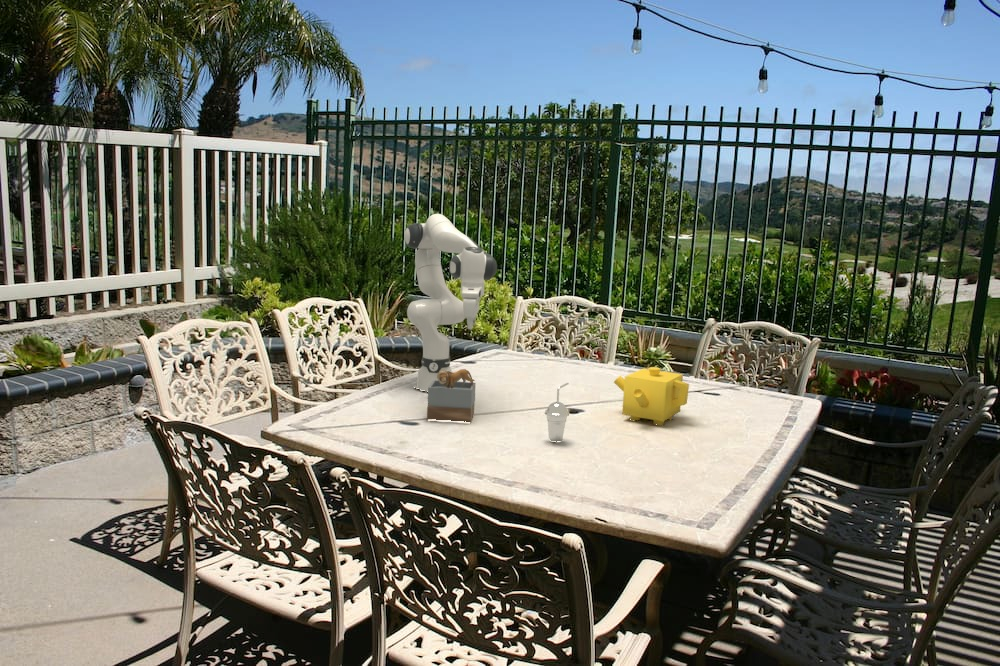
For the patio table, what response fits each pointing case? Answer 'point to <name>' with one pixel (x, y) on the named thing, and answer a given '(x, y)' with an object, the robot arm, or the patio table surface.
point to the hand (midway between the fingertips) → (471, 326)
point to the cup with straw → (556, 418)
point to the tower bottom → (450, 413)
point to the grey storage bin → (451, 395)
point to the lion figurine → (454, 377)
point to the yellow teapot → (652, 394)
